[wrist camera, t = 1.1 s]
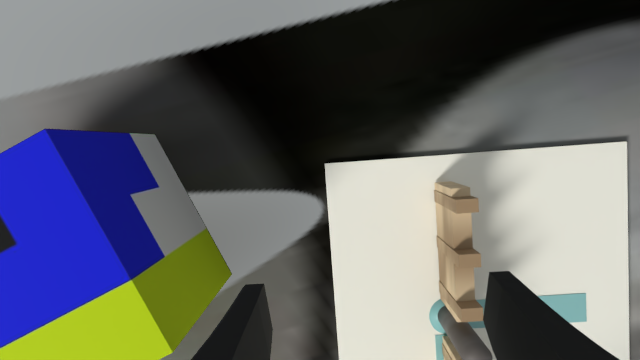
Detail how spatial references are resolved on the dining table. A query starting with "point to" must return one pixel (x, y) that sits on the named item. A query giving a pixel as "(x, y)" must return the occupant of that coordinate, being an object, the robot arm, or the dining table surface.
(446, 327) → the fence fixed panel
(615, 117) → the dining table surface
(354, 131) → the dining table surface
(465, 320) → the fence panel
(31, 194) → the puzzle toy
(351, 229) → the mat
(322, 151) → the dining table surface
